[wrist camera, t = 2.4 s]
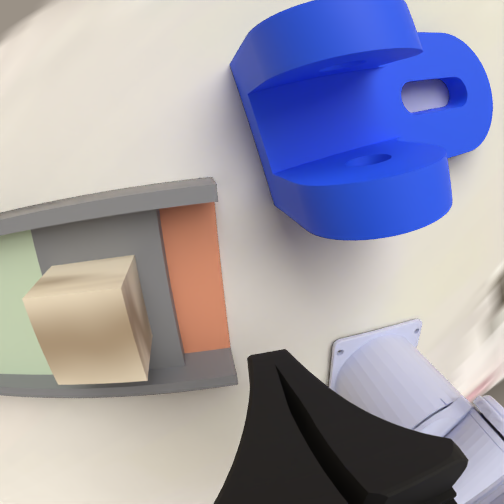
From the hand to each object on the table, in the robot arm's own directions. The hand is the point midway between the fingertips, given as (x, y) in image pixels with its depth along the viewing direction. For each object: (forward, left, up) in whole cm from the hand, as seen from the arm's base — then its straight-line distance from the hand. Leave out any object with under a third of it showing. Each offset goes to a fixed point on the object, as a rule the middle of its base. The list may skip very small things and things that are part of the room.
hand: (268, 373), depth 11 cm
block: (0, +8, -8) cm, 11 cm away
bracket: (+10, -10, -9) cm, 17 cm away
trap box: (0, +14, -9) cm, 17 cm away
